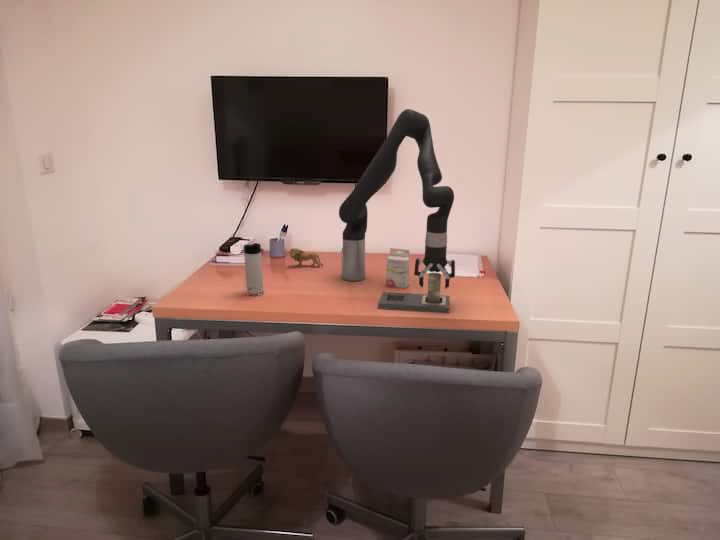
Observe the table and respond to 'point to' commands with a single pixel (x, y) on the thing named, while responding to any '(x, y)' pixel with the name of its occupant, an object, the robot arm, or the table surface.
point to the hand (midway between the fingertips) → (433, 287)
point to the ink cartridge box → (398, 268)
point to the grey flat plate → (413, 302)
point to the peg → (434, 287)
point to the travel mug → (253, 269)
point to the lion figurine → (304, 257)
